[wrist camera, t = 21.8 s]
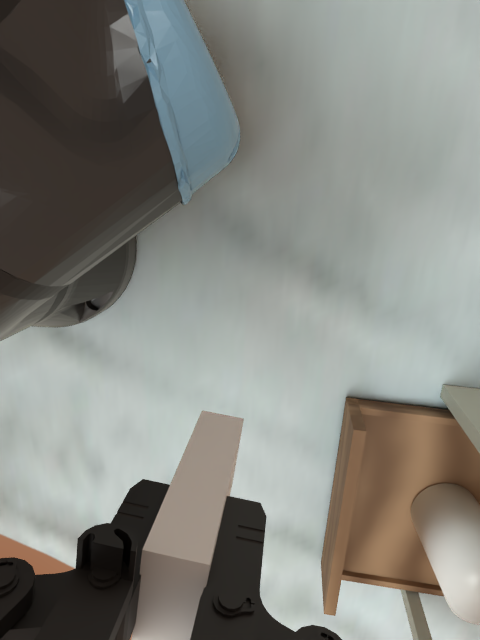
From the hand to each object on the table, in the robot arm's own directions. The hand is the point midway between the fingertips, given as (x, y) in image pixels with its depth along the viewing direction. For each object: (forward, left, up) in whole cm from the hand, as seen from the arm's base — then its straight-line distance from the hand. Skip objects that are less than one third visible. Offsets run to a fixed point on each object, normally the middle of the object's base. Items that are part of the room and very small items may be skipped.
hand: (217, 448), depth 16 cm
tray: (+18, -18, -26) cm, 36 cm away
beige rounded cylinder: (+18, -18, -24) cm, 35 cm away
